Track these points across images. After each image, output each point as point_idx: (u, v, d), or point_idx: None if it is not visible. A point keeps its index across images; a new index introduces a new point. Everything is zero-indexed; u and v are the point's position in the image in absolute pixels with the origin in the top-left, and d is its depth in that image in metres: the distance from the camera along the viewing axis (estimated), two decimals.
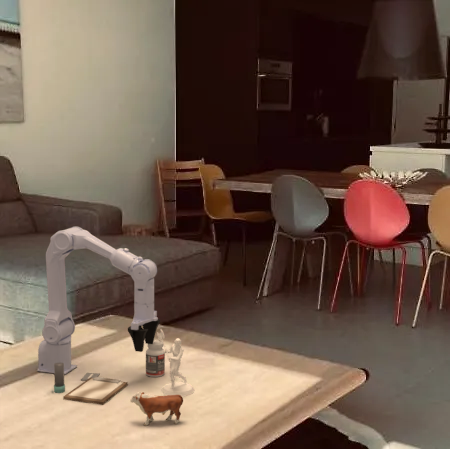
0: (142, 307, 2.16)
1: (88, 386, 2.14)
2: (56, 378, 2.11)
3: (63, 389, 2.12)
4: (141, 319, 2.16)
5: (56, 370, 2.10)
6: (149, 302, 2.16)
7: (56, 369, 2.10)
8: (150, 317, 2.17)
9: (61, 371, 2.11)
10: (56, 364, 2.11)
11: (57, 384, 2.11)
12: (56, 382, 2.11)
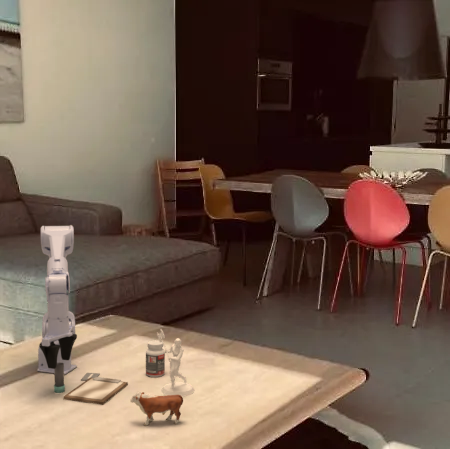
0: (55, 322, 2.07)
1: (88, 386, 2.14)
2: (56, 378, 2.11)
3: (63, 389, 2.12)
4: (54, 335, 2.07)
5: (56, 370, 2.10)
6: (52, 317, 2.07)
7: (56, 369, 2.10)
8: (64, 332, 2.08)
9: (61, 371, 2.11)
10: None
11: (57, 384, 2.11)
12: (56, 382, 2.11)
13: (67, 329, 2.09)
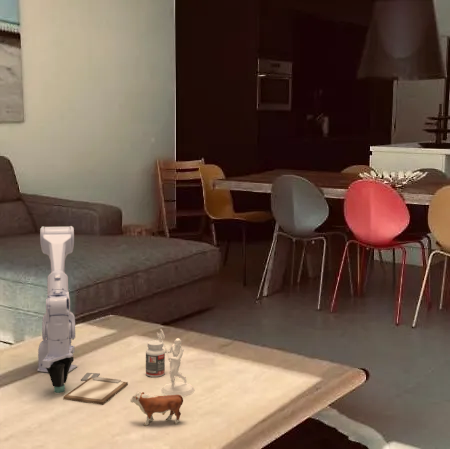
0: (55, 343, 2.07)
1: (88, 386, 2.14)
2: None
3: (63, 389, 2.12)
4: (54, 356, 2.08)
5: None
6: (52, 338, 2.07)
7: None
8: (64, 353, 2.09)
9: None
10: None
11: None
12: None
13: (67, 350, 2.10)
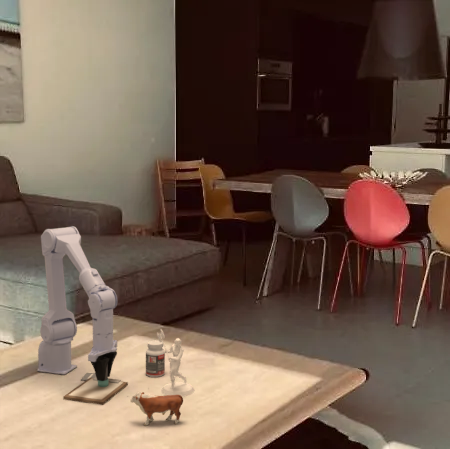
0: (100, 338, 2.10)
1: (88, 386, 2.14)
2: None
3: (107, 383, 2.14)
4: (99, 350, 2.10)
5: None
6: (103, 333, 2.10)
7: None
8: (109, 348, 2.11)
9: None
10: None
11: None
12: None
13: (112, 344, 2.12)
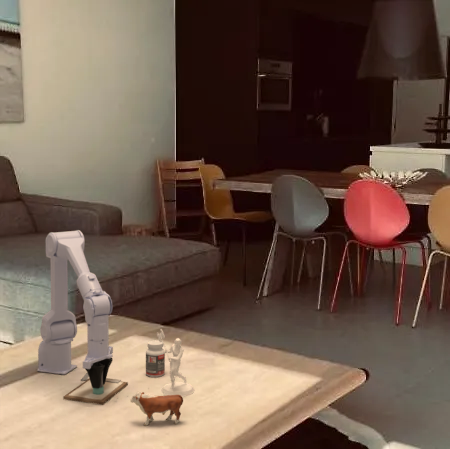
0: (95, 344, 2.04)
1: (88, 386, 2.14)
2: None
3: (102, 390, 2.08)
4: (94, 357, 2.04)
5: None
6: (96, 339, 2.04)
7: None
8: (104, 354, 2.05)
9: None
10: None
11: None
12: None
13: (107, 351, 2.06)
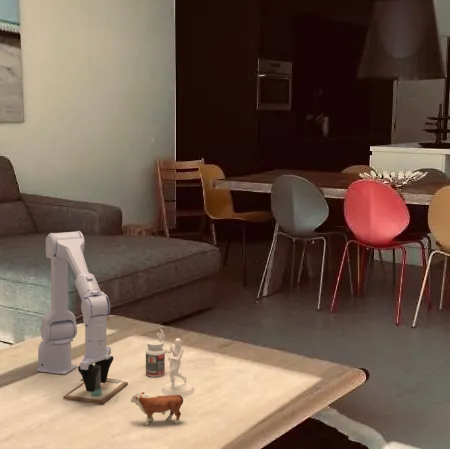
0: (93, 345, 2.03)
1: None
2: None
3: (100, 392, 2.07)
4: (92, 357, 2.03)
5: None
6: (93, 340, 2.03)
7: None
8: (102, 355, 2.04)
9: (98, 373, 2.06)
10: None
11: (95, 387, 2.06)
12: None
13: (105, 352, 2.05)
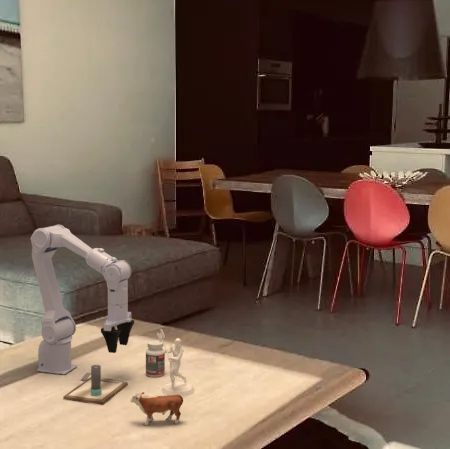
0: (115, 308, 2.15)
1: (88, 386, 2.14)
2: (93, 381, 2.06)
3: (100, 392, 2.07)
4: (114, 320, 2.16)
5: (93, 373, 2.06)
6: (121, 303, 2.15)
7: (94, 372, 2.06)
8: (123, 318, 2.16)
9: (98, 373, 2.06)
10: (93, 366, 2.06)
11: (95, 387, 2.06)
12: (93, 385, 2.06)
13: (126, 315, 2.17)
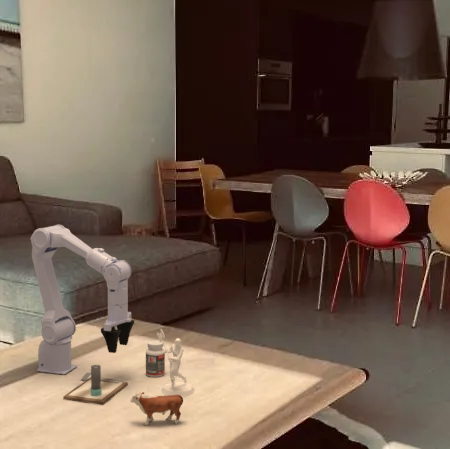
0: (115, 308, 2.15)
1: (88, 386, 2.14)
2: (93, 381, 2.06)
3: (100, 392, 2.07)
4: (114, 320, 2.16)
5: (93, 373, 2.06)
6: (121, 303, 2.15)
7: (94, 372, 2.06)
8: (123, 318, 2.16)
9: (98, 373, 2.06)
10: (93, 366, 2.06)
11: (95, 387, 2.06)
12: (93, 385, 2.06)
13: (126, 315, 2.17)
